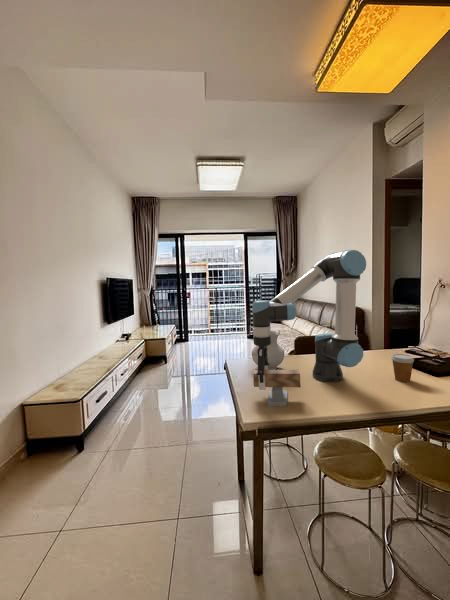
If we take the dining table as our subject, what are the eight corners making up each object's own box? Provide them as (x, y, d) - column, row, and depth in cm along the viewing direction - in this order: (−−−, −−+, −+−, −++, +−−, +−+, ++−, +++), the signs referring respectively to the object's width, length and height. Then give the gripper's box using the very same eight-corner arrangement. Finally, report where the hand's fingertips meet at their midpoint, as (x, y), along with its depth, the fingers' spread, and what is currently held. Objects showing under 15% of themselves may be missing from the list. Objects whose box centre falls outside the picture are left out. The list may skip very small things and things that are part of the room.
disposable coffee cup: (411, 377, 135) (411, 354, 135) (416, 384, 127) (416, 359, 126) (390, 375, 139) (389, 353, 139) (392, 382, 131) (392, 358, 130)
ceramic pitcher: (243, 370, 161) (239, 330, 157) (260, 360, 175) (258, 323, 172) (274, 378, 146) (271, 334, 143) (291, 366, 161) (288, 325, 158)
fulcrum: (287, 392, 124) (287, 380, 123) (286, 406, 110) (286, 392, 110) (270, 391, 126) (269, 379, 126) (267, 405, 112) (266, 391, 112)
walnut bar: (298, 382, 120) (298, 369, 119) (300, 387, 115) (300, 373, 115) (253, 382, 122) (253, 369, 122) (253, 386, 117) (253, 373, 117)
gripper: (257, 330, 130) (258, 374, 132) (249, 341, 108) (251, 394, 109) (272, 330, 128) (274, 375, 130) (267, 341, 106) (269, 395, 107)
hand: (263, 384), depth 119 cm, fingers open, 11 cm apart
